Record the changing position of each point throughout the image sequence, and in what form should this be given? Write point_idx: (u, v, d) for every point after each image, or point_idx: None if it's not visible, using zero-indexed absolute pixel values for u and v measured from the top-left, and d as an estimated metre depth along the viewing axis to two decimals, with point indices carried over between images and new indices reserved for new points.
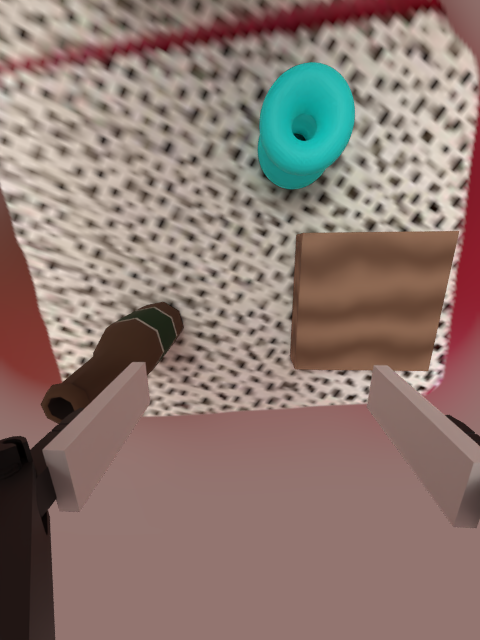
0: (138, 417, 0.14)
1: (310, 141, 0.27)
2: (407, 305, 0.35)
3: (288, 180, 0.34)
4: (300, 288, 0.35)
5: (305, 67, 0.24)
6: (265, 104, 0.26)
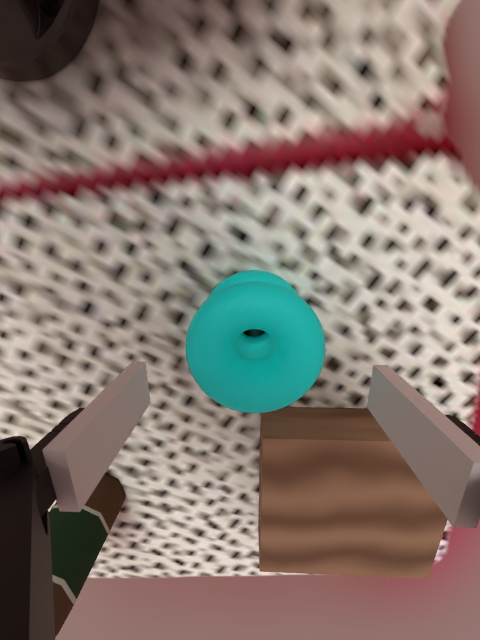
0: (138, 417, 0.14)
1: (260, 377, 0.18)
2: (402, 515, 0.27)
3: None
4: (262, 494, 0.27)
5: (246, 300, 0.16)
6: (189, 336, 0.17)
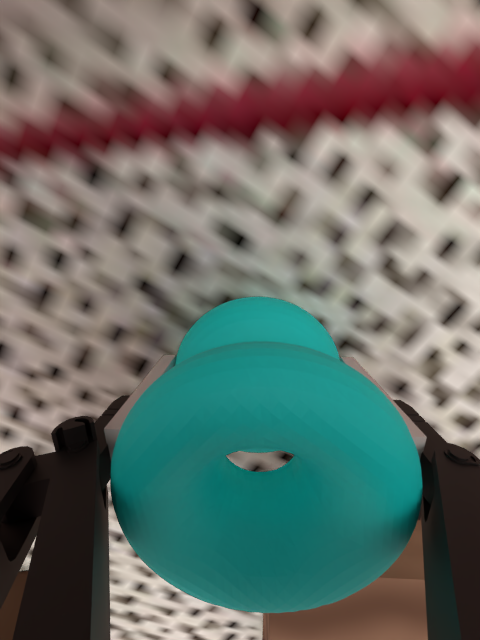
0: None
1: (274, 539, 0.09)
2: None
3: (241, 450, 0.15)
4: None
5: (242, 402, 0.06)
6: (113, 468, 0.07)
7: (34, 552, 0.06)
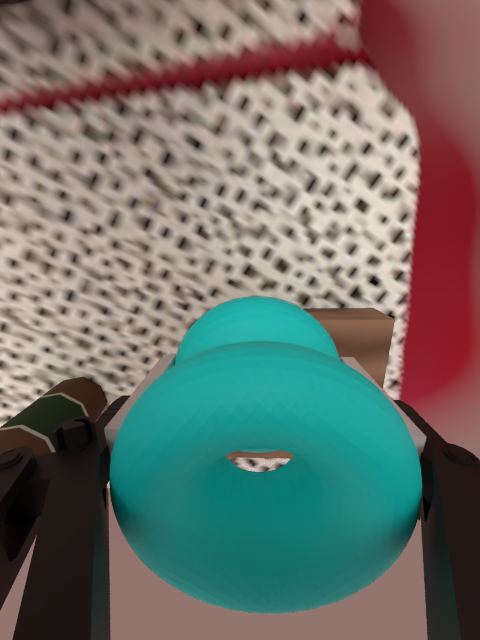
0: None
1: (274, 540, 0.09)
2: None
3: (241, 450, 0.15)
4: None
5: (241, 402, 0.06)
6: (111, 467, 0.07)
7: (34, 552, 0.06)
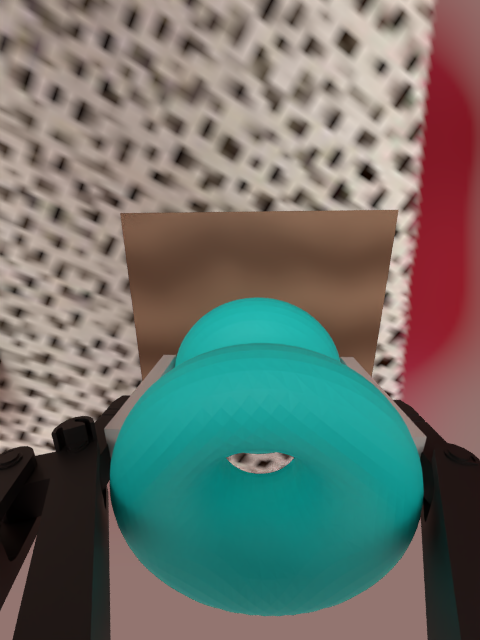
0: None
1: (274, 542, 0.08)
2: None
3: None
4: (135, 310, 0.21)
5: (242, 404, 0.06)
6: (112, 470, 0.07)
7: (34, 552, 0.06)
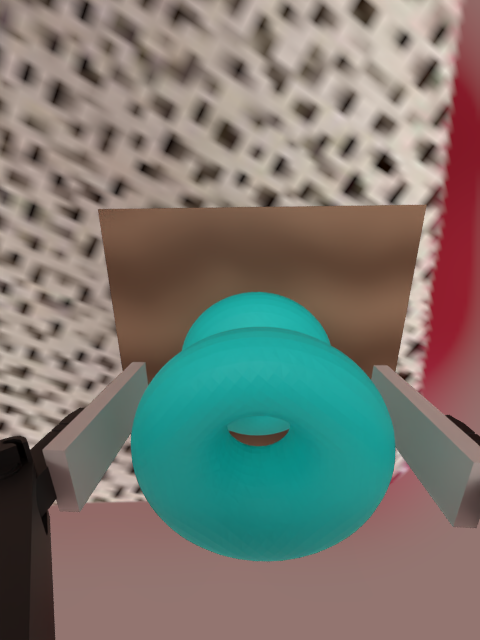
0: None
1: (271, 499, 0.10)
2: None
3: (242, 433, 0.17)
4: (117, 321, 0.18)
5: (243, 373, 0.07)
6: (134, 434, 0.09)
7: None
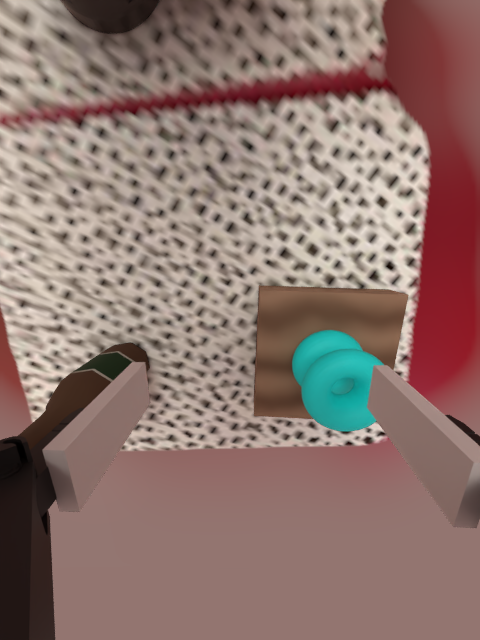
0: (138, 417, 0.14)
1: (349, 408, 0.28)
2: None
3: None
4: (258, 340, 0.36)
5: (350, 363, 0.26)
6: (309, 382, 0.27)
7: None
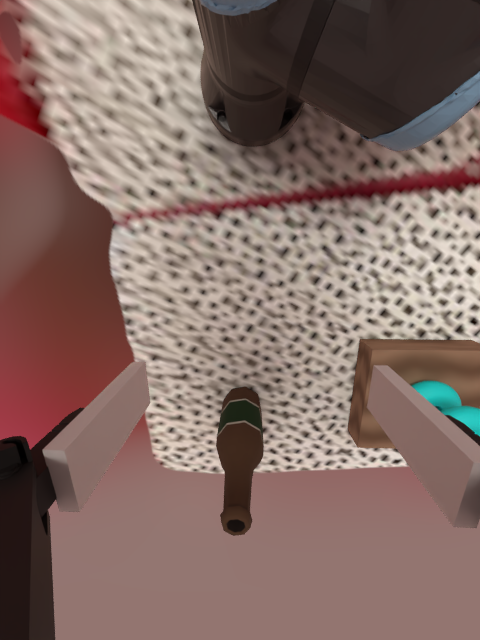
0: (138, 417, 0.14)
1: None
2: None
3: None
4: (367, 388, 0.44)
5: (471, 420, 0.34)
6: None
7: None
